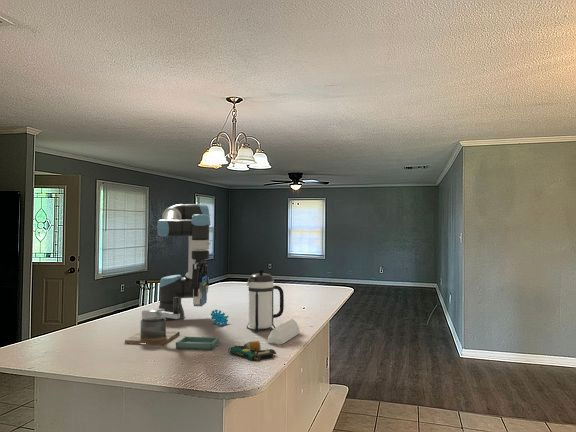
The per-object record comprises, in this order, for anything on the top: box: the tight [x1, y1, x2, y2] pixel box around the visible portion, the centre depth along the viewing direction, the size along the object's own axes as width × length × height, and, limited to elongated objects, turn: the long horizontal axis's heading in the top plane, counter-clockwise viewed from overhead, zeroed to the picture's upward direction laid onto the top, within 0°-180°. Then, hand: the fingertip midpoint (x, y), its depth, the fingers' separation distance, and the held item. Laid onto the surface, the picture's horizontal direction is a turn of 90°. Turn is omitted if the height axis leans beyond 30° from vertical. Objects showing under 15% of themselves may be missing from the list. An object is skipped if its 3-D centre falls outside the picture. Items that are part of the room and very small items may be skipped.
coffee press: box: [246, 268, 285, 333], centre depth 216 cm, size 17×16×30 cm
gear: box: [210, 309, 229, 327], centre depth 226 cm, size 11×6×10 cm
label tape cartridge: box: [193, 275, 208, 307], centre depth 187 cm, size 9×4×12 cm, turn 179°
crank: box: [141, 297, 180, 322], centre depth 194 cm, size 20×10×11 cm, turn 60°
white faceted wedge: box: [267, 318, 300, 345], centre depth 197 cm, size 7×7×24 cm
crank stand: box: [124, 319, 181, 345], centre depth 197 cm, size 18×18×8 cm
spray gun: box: [227, 340, 277, 362], centre depth 172 cm, size 4×17×15 cm
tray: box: [175, 336, 220, 351], centre depth 185 cm, size 11×16×2 cm
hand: (200, 302), depth 187 cm, fingers closed on label tape cartridge, 9 cm apart
